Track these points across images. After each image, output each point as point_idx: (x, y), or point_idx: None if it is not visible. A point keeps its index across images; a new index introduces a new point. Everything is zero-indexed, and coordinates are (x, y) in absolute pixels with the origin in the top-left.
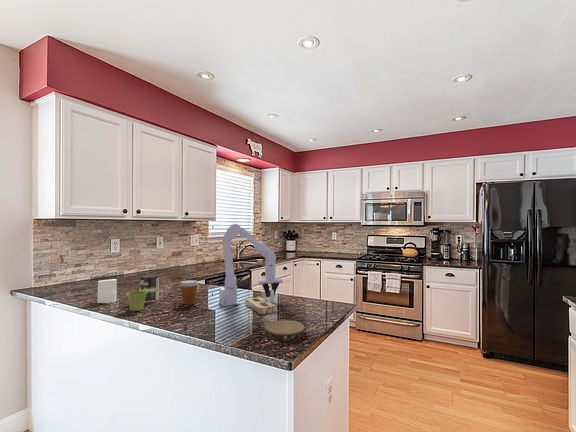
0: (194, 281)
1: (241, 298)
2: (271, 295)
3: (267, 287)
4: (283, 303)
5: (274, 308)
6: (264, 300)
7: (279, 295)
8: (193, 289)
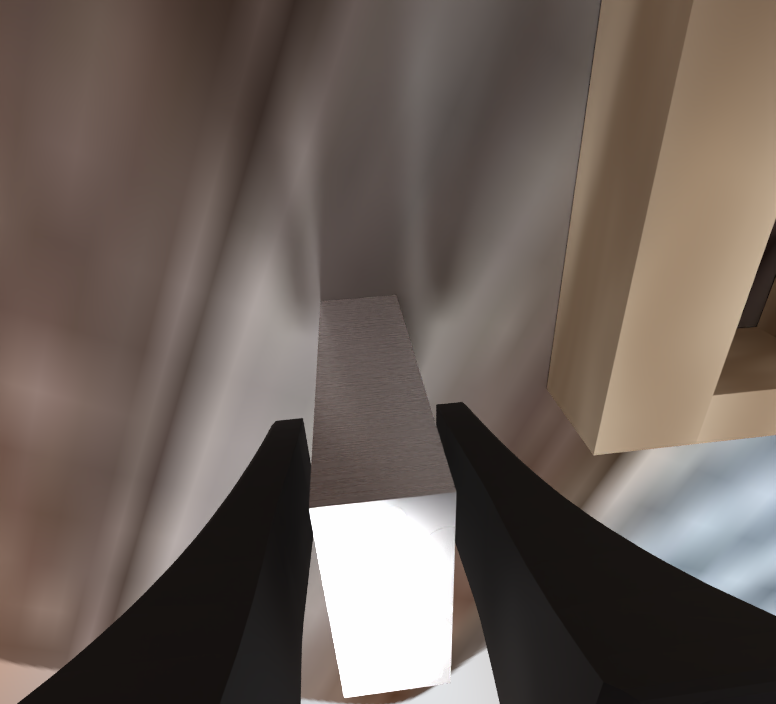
0: None
1: None
2: (391, 384)
3: (671, 609)
4: (108, 144)
5: None
6: (729, 112)
7: None
8: None
